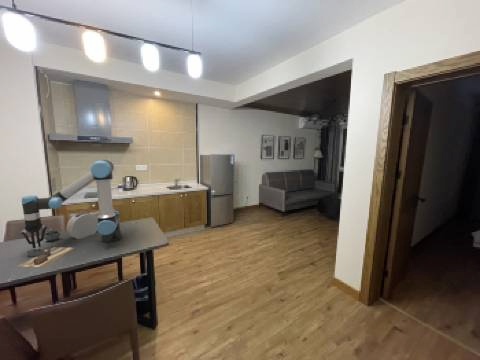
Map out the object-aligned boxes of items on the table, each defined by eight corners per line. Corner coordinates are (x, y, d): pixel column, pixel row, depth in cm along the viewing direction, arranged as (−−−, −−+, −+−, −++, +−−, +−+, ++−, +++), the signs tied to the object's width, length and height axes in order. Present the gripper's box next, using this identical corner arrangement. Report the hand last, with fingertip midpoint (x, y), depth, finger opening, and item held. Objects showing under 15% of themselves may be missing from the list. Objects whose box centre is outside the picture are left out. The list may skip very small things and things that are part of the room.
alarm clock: (94, 230, 186) (92, 209, 183) (99, 231, 183) (98, 210, 181) (67, 239, 166) (64, 215, 164) (73, 241, 164) (70, 217, 161)
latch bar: (52, 253, 141) (51, 248, 141) (47, 256, 137) (46, 251, 137) (32, 253, 141) (31, 248, 140) (26, 256, 137) (26, 251, 136)
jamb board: (75, 249, 151) (75, 243, 150) (43, 268, 126) (42, 261, 126) (54, 248, 151) (53, 242, 151) (17, 268, 126) (16, 260, 126)
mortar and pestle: (45, 240, 164) (43, 226, 162) (61, 237, 169) (59, 223, 168) (43, 246, 155) (41, 230, 153) (60, 242, 161) (58, 228, 159)
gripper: (43, 215, 145) (48, 246, 149) (17, 220, 135) (22, 254, 138) (47, 217, 141) (51, 249, 145) (19, 222, 130) (25, 257, 134)
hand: (37, 251), depth 141 cm, fingers closed
